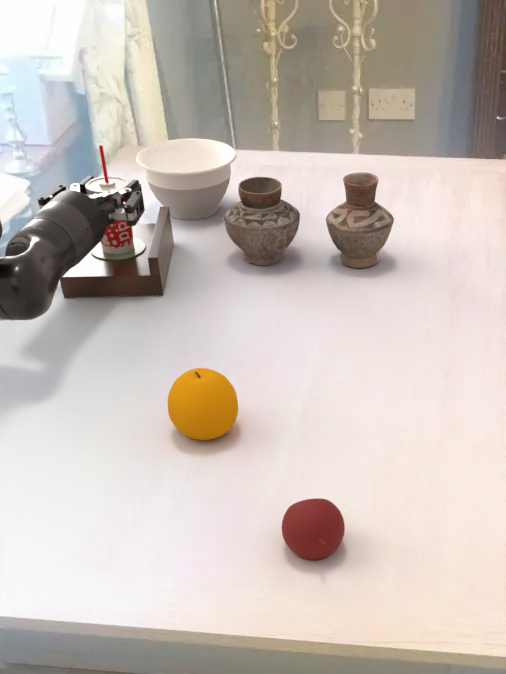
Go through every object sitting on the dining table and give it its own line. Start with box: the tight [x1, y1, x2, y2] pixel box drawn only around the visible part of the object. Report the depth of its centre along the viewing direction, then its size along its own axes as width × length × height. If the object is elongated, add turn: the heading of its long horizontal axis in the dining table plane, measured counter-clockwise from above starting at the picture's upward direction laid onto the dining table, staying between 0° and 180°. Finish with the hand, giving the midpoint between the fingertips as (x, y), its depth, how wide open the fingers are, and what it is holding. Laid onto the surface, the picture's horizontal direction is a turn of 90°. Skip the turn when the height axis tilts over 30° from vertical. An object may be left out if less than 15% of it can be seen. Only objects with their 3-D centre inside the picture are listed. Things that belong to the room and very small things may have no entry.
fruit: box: [281, 497, 346, 561], centre depth 86 cm, size 6×6×8 cm
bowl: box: [135, 137, 237, 221], centre depth 146 cm, size 16×16×8 cm
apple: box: [167, 367, 239, 441], centre depth 101 cm, size 8×8×8 cm
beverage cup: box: [85, 144, 134, 254], centre depth 126 cm, size 6×6×14 cm
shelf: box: [59, 206, 175, 298], centre depth 131 cm, size 14×18×6 cm
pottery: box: [223, 171, 395, 269], centre depth 131 cm, size 11×25×12 cm, turn 86°
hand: (114, 185), depth 127 cm, fingers closed on beverage cup, 6 cm apart
